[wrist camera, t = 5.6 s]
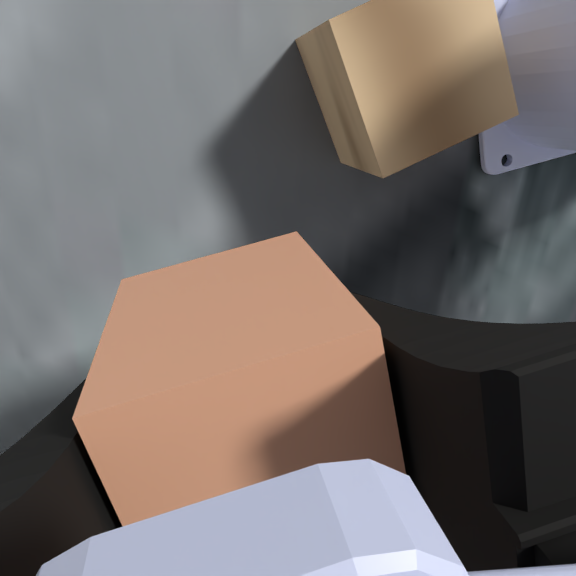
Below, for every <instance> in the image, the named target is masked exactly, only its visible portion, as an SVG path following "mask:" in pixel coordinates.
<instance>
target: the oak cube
mask: <svg viewBox="0 0 576 576" xmlns="http://www.w3.org/2000/svg"><path fill="white" fill-rule="evenodd" d="M295 41H296V44H297V46H298V49H299V52H300V54H301V57H302V60H303V62H304V65H305V68H306V70H307V73H308V76H309V79H310V81H311V84H312V87H313V89H314V92H315V95H316V97H317V100H318V103H319V105H320V108H321V111H322V113H323V116H324V119H325V121H326V124H327V127H328V130H329V132H330V135H331V138H332V140H333V143H334V146H335V148H336V151H337V154H338V156H339V159H340V162H341V163H343V164H345V165H348V166H351V167H354V168H356V169H359V170H362V171H364V172H367V173H370V174H372V175H375V176H378V177H381V178H385V177H387V176H390V175H392V174H394V173H396V172H398V171H400V170H402V169H404V168H407V167H409V166H411V165H413V164H415V163H417V162H419V161H421V160H424V159H426V158H428V157H430V156H432V155H434V154H436V153H438V152H441V151H443V150H445V149H447V148H449V147H451V146H453V145H455V144H458V143H460V142H462V141H464V140H466V139H468V138H470V137H472V136H475V135H477V134H479V133H481V132H483V131H485V130H487V129H489V128H492V127H494V126H496V125H498V124H500V123H502V122H504V121H507V120H509V119H511V118H513V117H515V116H517V115H519V112H518V107H517V103H516V98H515V94H514V89H513V85H512V80H511V76H510V71H509V67H508V62H507V58H506V53H505V49H504V44H503V40H502V35H501V31H500V27H499V22H498V18H497V13H496V9H495V4H494V0H371V1H369V2H367V3H364V4H362V5H360V6H358V7H356V8H353V9H351V10H349V11H347V12H345V13H343V14H340V15H338V16H336V17H334V18H332V19H329V20H328V21H326V22H324V23H323V24H321V25H319V26H318V27H316V28H314V29H313V30H311V31H309V32H308V33H306V34H304V35H302V36H301V37H299V38H297V39H296V40H295Z"/></svg>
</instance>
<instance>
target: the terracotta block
mask: <svg viewBox="0 0 576 576" xmlns="http://www.w3.org/2000/svg"><path fill="white" fill-rule="evenodd" d="M72 419H73V422H74V424H75V426H76V428H77V430H78V432H79V434H80V437H81V439H82V441H83V443H84V445H85V447H86V449H87V451H88V454H89V456H90V458H91V460H92V462H93V464H94V466H95V469H96V471H97V473H98V475H99V477H100V479H101V481H102V484H103V486H104V488H105V490H106V492H107V494H108V496H109V499H110V501H111V503H112V505H113V507H114V509H115V511H116V513H117V516H118V518H119V520H120V522H121V524H122V526H126V525H129V524H132V523H135V522H139V521H142V520H145V519H148V518H151V517H154V516H157V515H160V514H163V513H166V512H170V511H173V510H176V509H179V508H182V507H185V506H188V505H191V504H194V503H197V502H201V501H204V500H207V499H210V498H213V497H216V496H219V495H222V494H225V493H228V492H232V491H235V490H238V489H241V488H244V487H247V486H250V485H253V484H256V483H259V482H263V481H266V480H269V479H272V478H275V477H278V476H281V475H284V474H287V473H290V472H294V471H297V470H300V469H303V468H306V467H309V466H312V465H315V464H320V463H330V462H341V461H351V460H361V459H371V460H373V461H376V462H378V463H380V464H383V465H385V466H387V467H390V468H392V469H394V470H397V471H399V472H401V473H404V474H406V471H405V465H404V460H403V454H402V448H401V443H400V437H399V431H398V426H397V420H396V414H395V408H394V403H393V397H392V391H391V386H390V380H389V374H388V369H387V363H386V357H385V352H384V346H383V340H382V335H381V329H380V326H379V325H378V324H377V323H376V321H375V320H374V319H373V318H372V317H371V316H370V315H369V313H368V312H367V311H366V310H365V309H364V308H363V307H362V305H361V304H360V303H359V302H358V301H357V300H356V299H355V297H354V296H353V295H352V294H351V293H350V292H349V291H348V289H347V288H346V287H345V286H344V285H343V284H342V283H341V281H340V280H339V279H338V278H337V277H336V276H335V275H334V273H333V272H332V271H331V270H330V269H329V268H328V267H327V266H326V264H325V263H324V262H323V261H322V260H321V259H320V258H319V256H318V255H317V254H316V253H315V252H314V251H313V250H312V248H311V247H310V246H309V245H308V244H307V243H306V242H305V240H304V239H303V238H302V237H301V236H300V235H299V234H298V232H297V231H296V232H292V233H289V234H285V235H282V236H278V237H274V238H271V239H267V240H263V241H260V242H256V243H252V244H249V245H245V246H242V247H238V248H234V249H231V250H227V251H223V252H220V253H216V254H212V255H209V256H205V257H202V258H198V259H194V260H191V261H187V262H183V263H180V264H176V265H172V266H169V267H165V268H162V269H158V270H154V271H151V272H147V273H143V274H140V275H136V276H133V277H129V278H125V279H122V280H121V283H120V286H119V288H118V291H117V294H116V297H115V300H114V302H113V305H112V308H111V311H110V314H109V316H108V319H107V322H106V325H105V328H104V330H103V333H102V336H101V339H100V342H99V345H98V347H97V350H96V353H95V356H94V359H93V361H92V364H91V367H90V370H89V373H88V375H87V378H86V381H85V384H84V387H83V389H82V392H81V395H80V398H79V401H78V403H77V406H76V409H75V412H74V415H73V417H72Z"/></svg>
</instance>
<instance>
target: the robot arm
mask: <svg viewBox="0 0 576 576" xmlns="http://www.w3.org/2000/svg"><path fill="white" fill-rule="evenodd" d="M494 4H495V9H496V13H497V18H498V22H499V27H500V31H501V35H502V40H503V44H504V49H505V53H506V58H507V62H508V67H509V71H510V76H511V80H512V85H513V89H514V94H515V98H516V103H517V107H518V112H519V115H517V116H515V117H513V118H511V119H509V120H507V121H504V122H502V123H500V124H498V125H496V126H494V127H492V128H489V129H487V130H485V131H483V132H481V133H479V134H478V135H479V146H480V158H481V167H482V170H483V171H484V172H485V173H487V174H491V175H497V174H501V173H504V172H508V171H511V170H515V169H519V168H522V167H526V166H530V165H533V164H537V163H540V162H544V161H548V160H551V159H555V158H559V157H562V156H566V155H569V154H573V153H576V0H494ZM504 155H506V156H507V161H506V163H505V164H504V165H502V163H501V160H502V157H503V156H504ZM351 294H352V295H353V296H354V297H355V299H356V300H357V301H358V302H359V303H360V304H361V305H362V307H363V308H364V309H365V310H366V311H367V312H368V313H369V315H370V316H371V317H372V318H373V319H374V320H375V321H376V323H377V324H378V325H379V326H380V329H381V335H382V340H383V346H384V352H385V357H386V363H387V369H388V374H389V380H390V386H391V391H392V397H393V403H394V408H395V414H396V420H397V426H398V431H399V437H400V443H401V448H402V454H403V460H404V465H405V471H406V474H404V473H401V472H399V471H397V470H394V469H392V468H390V467H387V466H385V465H383V464H380V463H378V462H376V461H373V460H371V459H361V460H351V461H341V462H330V463H320V464H315V465H312V466H309V467H306V468H303V469H300V470H297V471H294V472H290V473H287V474H284V475H281V476H278V477H275V478H272V479H269V480H266V481H263V482H259V483H256V484H253V485H250V486H247V487H244V488H241V489H238V490H235V491H232V492H228V493H225V494H222V495H219V496H216V497H213V498H210V499H207V500H204V501H201V502H197V503H194V504H191V505H188V506H185V507H182V508H179V509H176V510H173V511H170V512H166V513H163V514H160V515H157V516H154V517H151V518H148V519H145V520H142V521H139V522H135V523H132V524H129V525H126V526H122V524H121V522H120V520H119V518H118V516H117V513H116V511H115V509H114V507H113V505H112V503H111V501H110V499H109V496H108V494H107V492H106V490H105V488H104V486H103V484H102V481H101V479H100V477H99V475H98V473H97V471H96V469H95V466H94V464H93V462H92V460H91V458H90V456H89V454H88V451H87V449H86V447H85V445H84V443H83V441H82V439H81V437H80V434H79V432H78V430H77V428H76V426H75V424H74V422H73V419H72V417H73V415H74V412H75V409H76V406H77V403H78V401H79V398H80V395H81V392H82V389H83V387H84V384H85V381H86V379H85V380H84V381H83V382H82V383H81V384H80V385H79V386H78V387H77V388H76V389H75V390H74V391H73V392H72V393H71V394H70V395H69V396H68V397H67V398H66V399H65V400H63V401H62V402H61V403H60V404H59V405H58V406H57V407H56V408H55V409H54V410H53V411H52V412H51V413H50V414H49V415H47V416H46V417H45V418H44V419H43V420H42V421H41V422H40V423H39V424H37V425H36V426H35V427H34V428H33V429H32V430H31V431H30V432H28V433H27V434H26V435H25V436H24V437H23V438H22V439H20V440H19V441H18V442H17V443H16V444H14V445H13V446H12V447H11V448H9V449H8V450H7V451H6V452H4V453H3V454H2V455H0V576H576V322H564V323H545V324H511V323H488V322H476V321H467V320H460V319H452V318H446V317H440V316H435V315H430V314H426V313H421V312H417V311H413V310H409V309H405V308H402V307H398V306H395V305H391V304H388V303H385V302H382V301H378V300H375V299H372V298H369V297H366V296H362V295H359V294H355V293H351Z"/></svg>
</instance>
